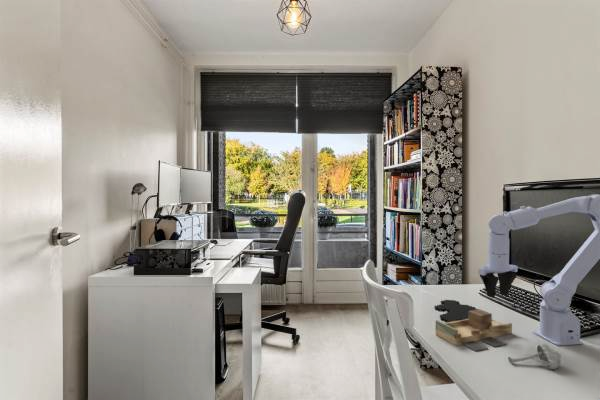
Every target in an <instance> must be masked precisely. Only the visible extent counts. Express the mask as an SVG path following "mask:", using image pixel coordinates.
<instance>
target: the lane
mask: <svg viewBox="0 0 600 400" xmlns="http://www.w3.org/2000/svg"><path fill="white" fill-rule="evenodd" d="M512 334H513V323H511V322H506V323H502V322H499V321H497V320H494V319H492V326H491V327H489V329H486V330H481V331H480V330H479V329H476V328H473V327H471V326H469V325H468V319H464V320H459V321H453V322H444V321H441V320H438V319H437V320H435V336H438V337H440V338H441V339H444V340H445V341H447V342H449V343H451V344H452V345H454V346H459V345H462V346H464V347H466V348H468V349H469V350H471V351H474V352H476V353H477V352H481V351H484V350H488V349H489V347H487V346H485V345H483V344H481V343H480V342H477V341H481V342H483V343H485V344H487V345H489V346H492V347H493V348H498V347H499V348H500V347H502V346H507V343H506V342H504V341H502V340H500V339H497V338H498V337H502V336H505V335H512Z"/></svg>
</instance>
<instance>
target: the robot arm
mask: <svg viewBox="0 0 600 400" xmlns="http://www.w3.org/2000/svg"><path fill="white" fill-rule="evenodd" d="M571 212H572V213H573V212H574V213H581V214H586V215H587V216H588V217H589V218H590V219H591V223H592V225H593V228H594V230H593V232H592V233H591V234H590V235H589V237H588V238H587V239H586V240H585V241H584V243H583V244H582V245H581V246H580V247H579V249H578V250H577V251H576V252H575V254H574V255H573V256H572V257H571V258H570V259H569V261H568V262H567V263H566V264H565V266H564V267H563V269H562V270H560V272H559V273H557V274H556V275H554V276H553V277H552V278H551V279H550V280H549V281H546V282H544V283H542V284H541V286H540V289H539V291H540V292H539V294H540V295H541V296H542V298H543V299H542V301H541V302H540V303H539V329H536V330H534V329H533V330H532V333H534V334H535V335H537V336H539V337H541V338H543V339H544V340H547V341H548V342H551V343H552V344H553V345H555V346H569V345H570V346H571V345H582V344H583V341H581V321H580V319H579V317H578V316H576V315H575V314H574V313H573V312H572V311H571V307H570V306H571V304H572V298H573V296H574V295H575V294H576V291H577V288H578V285H579V284H580V283H581V282H582V280H583V279H584V278H585V277H586V275H588V273H589V272H590V271H591V270H592V268H593V267H594V266H595V265H596V264H597V263H598V262H599V260H600V194H596V193H595V194H593V193H592V194H589V195H588V196H587V195H584V196H576V197H572V198H568V199H565V200H562V201H559V202H554V203H551V204H547V205H545V206H542V207H537V208H534V207H532V206H529V205H528V206H526V205H522V206H520V207H519V208H518V209H515V210H511V211H503V212H502V214H503V215H502V214H495V215H493V216H491V218H489V221H488V227H489V232H488V236H489V237H488V247H487V250H488V251H487V255H488V256H487V264H485V266H482V267H478V268H477V270H478V271H477V274H478V275H479V278H480V279H481V281H482V282H483V285H484V288H485V292H486V296H487V297H490V298H492V299H494V298H495V297H496V291H497V284H498V283H499V294H500V295H502V296H505V297H507V296H508V295H509V292H510V290H511V287H512V285H513V283H514V281H515V279H516V278H517V272H518V265H515V264H510V240H511V239H510V236H509V235H510V231H511V230H512V231H515V230H520V229H525V228H528V227H531V226H536V225H537V224H538V223H539V221H540V220H541V219H546V218H550V217H554V216H558V215H564V214H567V213H571ZM513 272H514V273H513ZM495 274H496V275H497V276H496V275H495Z"/></svg>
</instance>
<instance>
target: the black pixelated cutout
mask: <svg viewBox="0 0 600 400" xmlns="http://www.w3.org/2000/svg"><path fill="white" fill-rule="evenodd" d="M440 303H441V304H437V305H434V310H435V311H438V312H444V313H441V314H439V318H440V321H443V323H448V322H453V321H459V320H464V319H468V311H471V310H477V309H478V308H476V307H475V306H472V305H469V304H461V303H460V302H459V300H455V299H443V300H441V301H440Z"/></svg>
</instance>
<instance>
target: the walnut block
mask: <svg viewBox="0 0 600 400" xmlns="http://www.w3.org/2000/svg"><path fill="white" fill-rule="evenodd" d="M476 309H477V310H471V311H468V325H469V326H471V327H473V328H476V329H479V330H480V331H481V330H486V329H489V327H491V326H492V320H493V319H492V318H493V313H491V312H488V311H485V310H483V309H481V308H476Z"/></svg>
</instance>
